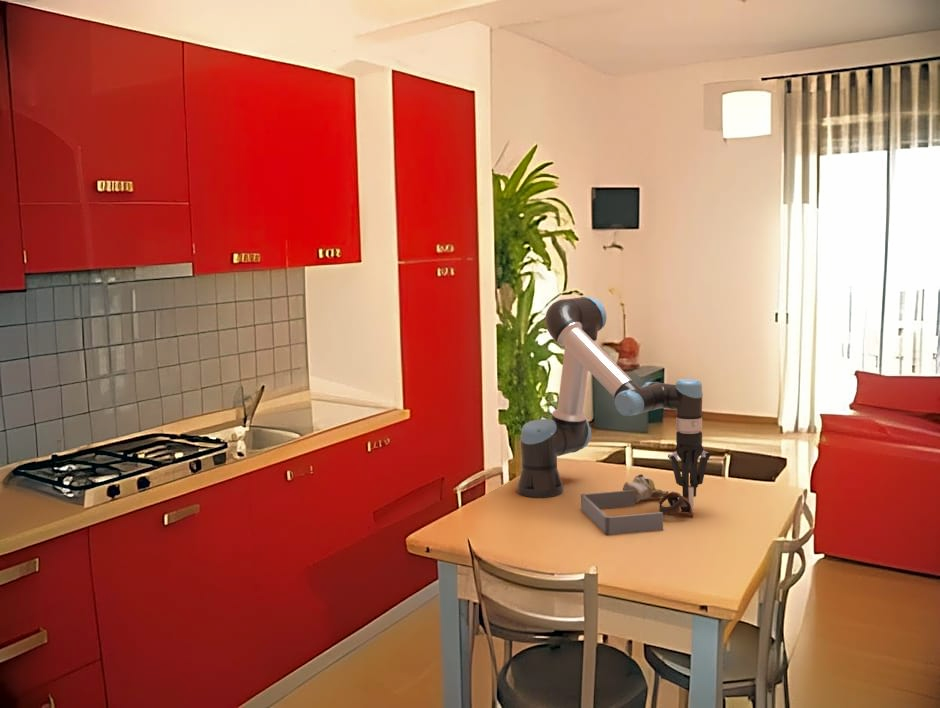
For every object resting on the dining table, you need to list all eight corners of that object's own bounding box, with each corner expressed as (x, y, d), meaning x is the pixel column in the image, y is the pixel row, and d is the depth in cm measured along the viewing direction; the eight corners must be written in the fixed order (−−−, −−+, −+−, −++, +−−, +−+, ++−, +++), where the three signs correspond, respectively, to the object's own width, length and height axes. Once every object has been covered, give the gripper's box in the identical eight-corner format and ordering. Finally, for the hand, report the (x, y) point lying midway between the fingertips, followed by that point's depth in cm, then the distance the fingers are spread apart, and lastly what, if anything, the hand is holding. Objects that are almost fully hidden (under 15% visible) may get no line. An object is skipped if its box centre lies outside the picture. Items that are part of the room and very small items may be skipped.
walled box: (580, 510, 270) (580, 494, 270) (633, 505, 273) (633, 489, 272) (606, 535, 247) (605, 518, 246) (663, 529, 250) (662, 512, 249)
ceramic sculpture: (613, 473, 277) (645, 468, 286) (612, 500, 278) (644, 493, 287) (639, 481, 269) (671, 474, 278) (637, 508, 270) (669, 501, 279)
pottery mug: (699, 522, 256) (687, 501, 254) (669, 535, 258) (658, 514, 255) (689, 500, 268) (678, 479, 265) (660, 513, 269) (649, 493, 266)
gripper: (673, 435, 256) (674, 513, 259) (715, 432, 258) (715, 509, 261) (663, 429, 263) (664, 505, 266) (704, 426, 265) (704, 501, 268)
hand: (689, 507), depth 264 cm, fingers closed
